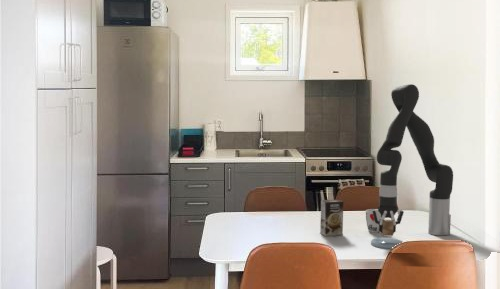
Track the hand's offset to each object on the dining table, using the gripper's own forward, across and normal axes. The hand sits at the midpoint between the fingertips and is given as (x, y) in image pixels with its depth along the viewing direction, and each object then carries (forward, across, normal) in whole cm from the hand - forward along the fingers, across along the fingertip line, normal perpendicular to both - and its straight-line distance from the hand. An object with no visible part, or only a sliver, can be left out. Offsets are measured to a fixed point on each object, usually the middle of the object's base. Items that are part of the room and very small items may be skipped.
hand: (387, 232), depth 248 cm
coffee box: (+6, +23, -17) cm, 29 cm away
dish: (+5, 0, 0) cm, 5 cm away
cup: (+5, +2, -24) cm, 25 cm away
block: (+1, 0, 0) cm, 1 cm away
